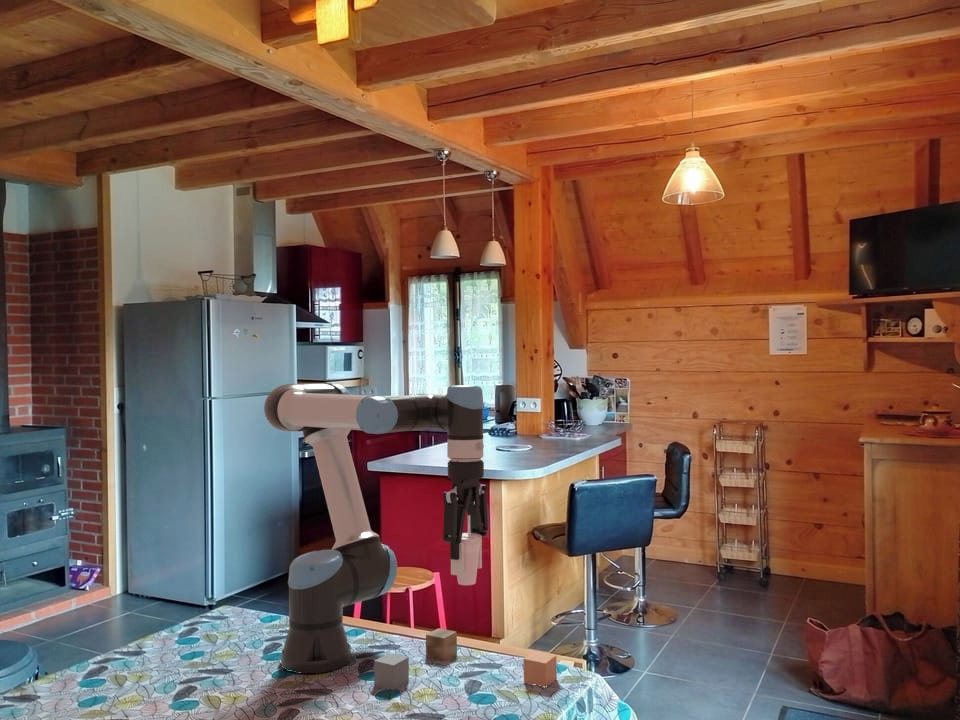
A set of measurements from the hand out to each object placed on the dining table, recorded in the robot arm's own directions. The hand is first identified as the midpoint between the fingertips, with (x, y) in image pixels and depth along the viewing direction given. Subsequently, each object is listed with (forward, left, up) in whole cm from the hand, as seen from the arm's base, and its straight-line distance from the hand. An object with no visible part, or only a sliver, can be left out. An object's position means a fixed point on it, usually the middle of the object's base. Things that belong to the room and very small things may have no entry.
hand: (466, 570), depth 155 cm
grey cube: (-13, -9, -23) cm, 27 cm away
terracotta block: (+13, +7, -23) cm, 27 cm away
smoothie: (0, 0, -3) cm, 3 cm away
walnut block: (-13, +9, -23) cm, 27 cm away
